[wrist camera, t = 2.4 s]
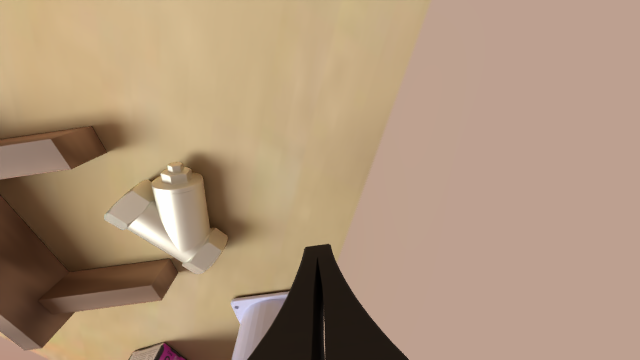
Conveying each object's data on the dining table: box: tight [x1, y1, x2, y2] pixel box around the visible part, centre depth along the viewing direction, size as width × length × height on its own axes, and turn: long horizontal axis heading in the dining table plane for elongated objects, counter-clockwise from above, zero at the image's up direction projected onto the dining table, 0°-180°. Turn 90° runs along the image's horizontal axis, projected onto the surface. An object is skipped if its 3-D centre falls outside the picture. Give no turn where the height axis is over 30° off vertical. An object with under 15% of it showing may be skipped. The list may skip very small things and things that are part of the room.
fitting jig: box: [0, 126, 178, 350], centre depth 18 cm, size 18×12×5 cm, turn 8°
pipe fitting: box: [104, 162, 228, 274], centre depth 19 cm, size 8×4×7 cm
